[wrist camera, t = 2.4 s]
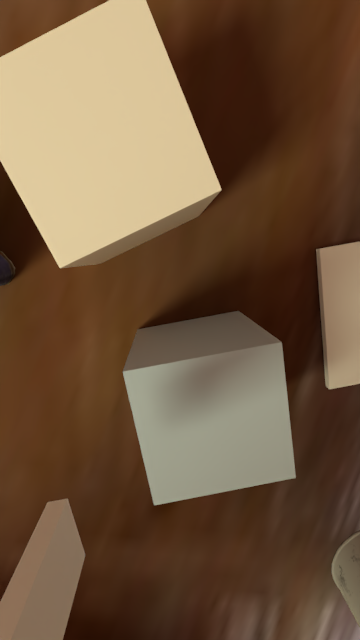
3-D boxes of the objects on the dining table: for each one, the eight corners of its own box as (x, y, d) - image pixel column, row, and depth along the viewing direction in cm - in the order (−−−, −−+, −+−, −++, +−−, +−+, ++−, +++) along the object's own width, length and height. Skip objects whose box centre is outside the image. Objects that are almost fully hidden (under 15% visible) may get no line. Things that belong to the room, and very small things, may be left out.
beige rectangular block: (100, 263, 23) (59, 268, 14) (43, 154, 21) (-45, 80, 12) (198, 216, 22) (221, 190, 14) (149, 101, 20) (139, -16, 12)
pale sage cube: (157, 420, 26) (154, 505, 17) (137, 329, 24) (122, 371, 15) (250, 402, 26) (295, 477, 17) (238, 310, 24) (281, 341, 15)
